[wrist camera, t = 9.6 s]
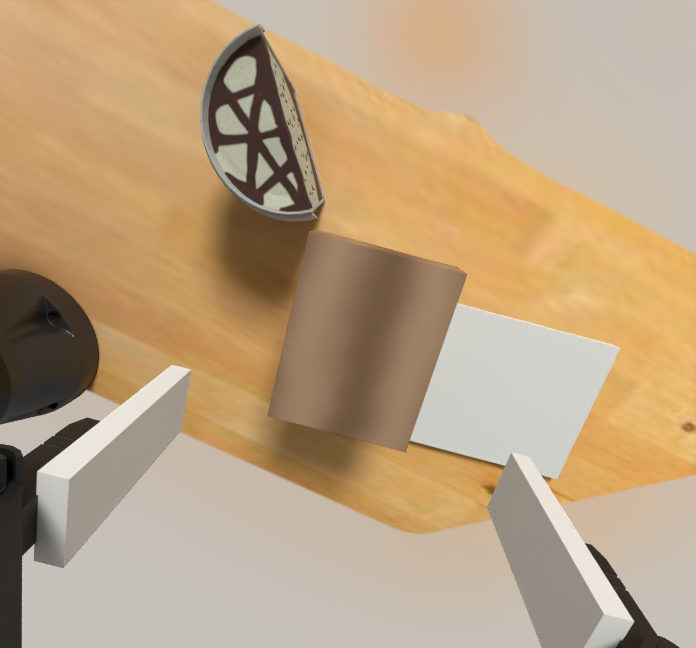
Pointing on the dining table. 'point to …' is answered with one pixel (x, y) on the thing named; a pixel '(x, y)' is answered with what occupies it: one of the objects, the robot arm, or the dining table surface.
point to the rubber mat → (511, 389)
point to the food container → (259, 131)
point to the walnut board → (363, 339)
